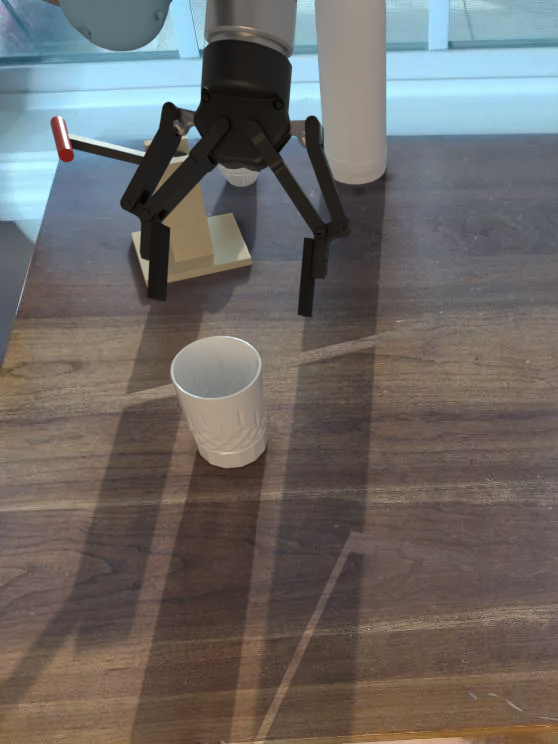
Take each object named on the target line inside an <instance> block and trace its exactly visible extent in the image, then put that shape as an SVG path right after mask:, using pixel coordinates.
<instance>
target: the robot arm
mask: <svg viewBox="0 0 558 744" xmlns="http://www.w3.org/2000/svg"><path fill="white" fill-rule="evenodd" d="M42 1H43V2H46V3H48V4H51V5H53V6H56V7H59V8H60V9H61V12H62V13H63V15H64V16H65V18H66V20H67V21H68V24H70V25H71V27H72V28H74V29H75V30H76V31H77V32H78V33H79V34H80V35H81V36H82V37H84V38H85V39H86V40H88V42H89V43H91V44H93V45H95V46H96V47H98V48H101V49H104V50H106V51H107V50H108V51H112V52H131V51H136V50H139V49H142V48H144V47H146V46H148V45H149V44H151V42H152V41H154V40H155V39H156V38H157V37H158V36H159V34H160V33H161V31H162V29H163V27H164V26H165V23H166V20H167V17H168V14H169V12H170V11H169V10H170V5H171V4H172V2H173V0H42ZM205 2H206V3H205V16H204V31H203V38H204V40H205V41H206V42H207V43H208V44H207V45H206V46H205V47H204V48H203V50H202V63H201V80H200V100H199V104H198V106H197V108H196V110H191V109H187V108H183V107H178V106H177V105H176V104H175V103H173V102H172V101H166V102H164V103H163V105H162V107H161V113H160V117H159V118H160V119H159V124H158V129H157V131H156V132H155V135H154V136H153V138H152V139H153V140H152V139H151V140H152V142H151V144H150V146H149V148H148V149H147V151H146V150H145V152H146V153H145V155H144V157H143V159H142V161H141V163H140V164H139V165H138V166H137V168H136V170H135V172H134V173H133V176H132V178H131V179H130V182H129V183H128V185H127V187H126V189H125V191H124V193H123V195H122V196H121V198H120V200H119V205H120V208H121V209H122V210H124V211H126V212H127V213H129V214H132V215H134V216H135V217H137V219H139V221H140V231H141V235H140V255H141V258H142V259H144V260H147V261H149V273H148V287H147V294H146V298H147V299H150V300H153V301H157V302H164V303H165V302H167V296H168V283H167V279H168V262H169V245H170V227H168V226H166V225H164V223H163V220H164V219H165V218H166V217H167V216H168V215H169V214H170V213H171V212H172V211H173V210H174V209H175V207H176V206H177V205H178V204H179V203H180V202H181V201H182V200H183V199H184V198H185V197H186V195H187V194H188V193H189V192H190V191H191V190H192V189H193V188H194V187H195V186H196V185H197V184H198V182H199V181H200V182H201V180H203V178H205V176H206V175H207V174H208V173H211V172H212V171H214V170H215V169H216V167H218V166H217V165H218V164H220V165H222V166H224V167H225V168H226V169H240V168H246V169H248V170H251V171H256V172H259V173H261V171H262V170H266V169H267V168H269V169H270V170H271V172H272V173H273V175H274V176H275V178H276V179H277V181H278V182H279V184H280V185H281V187H282V188H283V190H284V191H285V193H286V194H287V196H288V198H289V199H290V200H291V202H292V204H293V205H294V206H295V208H296V210H297V211H298V213H299V214H300V216H301V217H302V219H303V220H304V222H305V223H306V225H307V227H308V228H309V230H310V231H311V233H312V235H313V237H303V243H302V245H303V247H302V257H301V270H300V278H299V279H300V280H299V292H298V301H297V302H298V304H297V316H300V317H302V318H310V319H311V318H313V309H314V297H315V286H316V280H326V277H327V275H328V269H329V268H328V267H329V259H330V258H329V257H330V256H329V255H330V247H331V244H332V242H333V241H334V240H335V241H336V240H337V239H341V238H349V237H350V236H351V235H352V233H353V228H352V224H351V221H350V219H349V216H348V213H347V210H346V208H345V205H344V202H343V200H342V197H341V194H340V190H339V188H338V186H337V185H338V184H337V183H336V180H335V179H334V177H333V174H332V171H331V169H330V166H329V163H328V160H327V158H326V155H325V152H324V129H323V127H322V122H320V120H319V119H318V117H317V116H316V115H308V116H307V117H306V118H305V119H294V120H291V118H290V114H289V113H290V112H289V111H290V101H291V87H292V76H293V65H292V63H291V61H290V59H289V58H291V57H292V56H293V55H294V54H293V53H294V49H295V38H296V37H295V36H296V24H297V13H298V12H297V11H298V0H206V1H205ZM193 127H194V128H195V129H196V131H197V133H198V134H199V136H200V137H201V138H200V139H199V140H198V141H197V142H196V144H194V145H193V147H192V148H191V149H189V151H190V152H189V156H188V157H187V158H186V159H185V160H184V162H183V163H182V164H181V165H180V166H179V167H178V168H177V169H176V170H175V171H174V173H173V174H172V175H171V176H170V177H169V178H168V179H167V180H166V181H165V182H164V184H163V185H162V186H161V187H160V188H159V189H158V190H157V191H155V189H156V187H157V185H158V184H159V182H160V180H161V178H162V176H163V174H164V173H165V171H166V169H167V167H168V165H169V163H170V161H171V160H172V158H173V156H174V154H175V152H176V150H177V149H178V146H179V144H180V142H181V139H182V136H185V135H186V136H187V135H188V134H189V132H190V130H191V129H192V128H193ZM292 137H296V139H297V142H298V143H299V145H300V146H301V147H302V148H303V149H306V152H307V155H308V158H309V161H310V164H311V167H312V169H313V172H314V175H315V177H316V180H317V182H318V186H319V189H320V191H321V195H322V197H323V199H324V202H325V205H326V208H327V211H328V213H329V216H330V220H331V221H329V222H326V223H325V221H324V220H323V219H322V217H321V215H320V213H319V212H318V210H317V209H316V207H315V206H314V204H313V203H312V202H311V200H310V199H309V197H308V195H307V194H306V192H305V191H304V189H303V188H302V186H301V184H300V183H299V182H298V180H297V179H296V177H295V176H294V174H293V172H292V171H291V169H290V167H289V166H288V164H287V163H286V162H285V160H284V158H283V157H282V155H281V154H280V153H281V152H282V150H283V149H284V148H285V147H286V145H287V144H288V143H289V141H290V140H291V139H292Z"/></svg>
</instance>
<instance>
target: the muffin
mask: <svg viewBox="0 0 558 744" xmlns="http://www.w3.org/2000/svg"><path fill="white" fill-rule="evenodd" d="M216 167H217V169H218V170H219V172H220V173H221V174H222V175H223V177H224V178H225V179H226V180H227V182H228V183H229V184H230V185H232V186H234V187H239V188H243V187H244V188H245V187H249V186H251V185H253V184H255V182H256V181H257V179H258V176H259V174H260V172H256V171H251V170H248V169H246V168H240V169H226V168H225V167H224V166H222V165H220V164H218V165H217V166H216Z"/></svg>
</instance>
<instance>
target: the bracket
mask: <svg viewBox="0 0 558 744" xmlns="http://www.w3.org/2000/svg"><path fill="white" fill-rule="evenodd" d="M152 140H153V138H152V139H147V140H143V146H144V151H145V152H146V151H147V149H148V148H149V146H150V144H151V142H152ZM176 151H178V152H182V153H186V154H187V155H186V156H181V157H175V158H172V160H171V161H170V163H169V165H168V167H167V169H166V171H165V173H164V174H163V176H162V178H161V180H160V182H159V184H158V185H157V187H156V189H155V191H154V192H156V191H157V190H158V189H159V188H160V187H161V186H162V185H163V184H164V182H165V181H166V180H167V179H168V178H169V177H170V176H171V175H172V174H173V173H174V171H175V170H176V169H177V168H178V167H179V166H180V165H181V164H182V163H183V162H184V160H185V159H186V158H187V157H188V156H189V152H190V147H189V141H188V138H187V135H185V136H182V139H181V142H180V144H179V146H178V149H177V150H176ZM162 224H164V225H166V226H168V227H170V245H169V262H168V279H167V284H169V283H173V282H179V281H182V280H183V281H184V280H187V279H191V278H196V277H200V276H205V275H210V274H215V273H219V272H224V271H229V270H233V269H238V268H242V267H249V266H252V265H253V260H252V256H251V253H250V252H249V249H248V247H247V244H246V242H245V239H244V238H243V235H242V232H241V230H240V227H239V225H238V223H237V221H236V218H235V215H234V213H233V212H228V213H223V214H218V215H213V216H208V217H207V210H206V206H205V201H204V196H203V190H202V186H201V180H200V181H199V182H198V184H197V185H196V186H195V187H194V188H193V189H192V190H191V191H190V192H189V193H188V194H187V195H186V197H185V198H184V199H183V200H182V201H181V202H180V203H179V204H178V205H177V206H176V207H175V209H174V210H173V211H172V212H171V213H170V214H169V215H168V216H167V217H166V218H165V219H164V220H163V222H162ZM140 235H141V230H139V231H134V232H131V233H130V236H131V240H132V243H133V246H134V249H135V253H136V255H137V259H138V262H139V265H140V269H141V272H142V276H143V279H144V282H145V285H146V286H145V287H147V288H148V273H149V261H147V260H144V259H142V258H141V255H140Z"/></svg>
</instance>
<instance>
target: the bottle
mask: <svg viewBox="0 0 558 744" xmlns="http://www.w3.org/2000/svg"><path fill="white" fill-rule="evenodd" d="M313 6H314V17H315V18H314V20H315V33H316V49H317V64H318V67H317V68H318V80H319V81H318V82H319V95H320V98H319V99H320V109H321V110H320V112H321V125H322V127H323V129H324V152H325V155H326V158H327V160H328V163H329V166H330V169H331V171H332V174H333V177H334V180H335V181H337V182H339V183H343V184H347V185H363V184H368V183H372V182H374V181H376V180H378V179H380V178H381V177H382V176H383V175H384V174H385V173H386V169H387V158H388V144H387V1H386V0H314V5H313Z"/></svg>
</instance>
